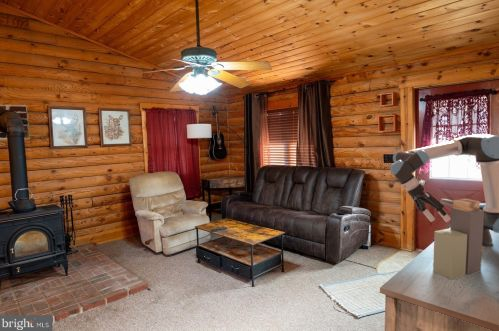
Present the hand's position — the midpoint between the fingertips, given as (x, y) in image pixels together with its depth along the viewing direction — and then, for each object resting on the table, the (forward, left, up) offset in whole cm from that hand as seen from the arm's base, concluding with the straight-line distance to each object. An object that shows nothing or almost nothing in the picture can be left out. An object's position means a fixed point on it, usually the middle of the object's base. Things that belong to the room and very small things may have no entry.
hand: (440, 221), depth 162 cm
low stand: (+7, +11, -22) cm, 25 cm away
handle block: (-3, +6, +8) cm, 11 cm away
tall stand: (-3, +11, -22) cm, 25 cm away
